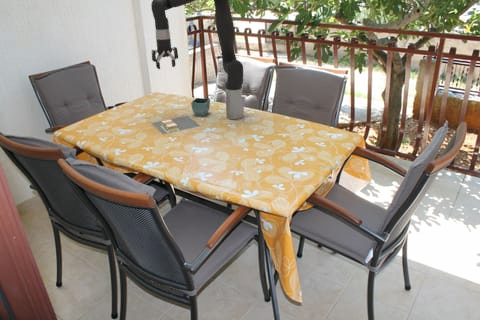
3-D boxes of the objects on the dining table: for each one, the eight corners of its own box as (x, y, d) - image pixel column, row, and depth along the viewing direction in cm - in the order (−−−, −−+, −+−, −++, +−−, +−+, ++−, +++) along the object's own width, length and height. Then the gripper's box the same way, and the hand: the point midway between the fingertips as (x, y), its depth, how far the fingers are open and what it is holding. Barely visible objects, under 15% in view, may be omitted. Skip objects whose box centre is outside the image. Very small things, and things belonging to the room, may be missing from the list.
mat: (187, 116, 237) (187, 115, 236) (201, 126, 222) (201, 125, 222) (151, 124, 227) (150, 122, 227) (163, 135, 212) (162, 134, 212)
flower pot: (191, 117, 236) (190, 102, 232) (197, 112, 243) (196, 97, 239) (205, 118, 233) (204, 103, 229) (211, 113, 241) (210, 98, 237)
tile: (177, 130, 216) (177, 125, 215) (168, 132, 214) (168, 127, 212) (170, 124, 224) (170, 119, 222) (162, 126, 222) (161, 121, 220)
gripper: (153, 40, 210) (156, 71, 217) (178, 37, 216) (180, 67, 223) (148, 38, 215) (151, 68, 223) (172, 35, 222) (175, 64, 229)
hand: (166, 67), depth 223 cm, fingers open, 8 cm apart
